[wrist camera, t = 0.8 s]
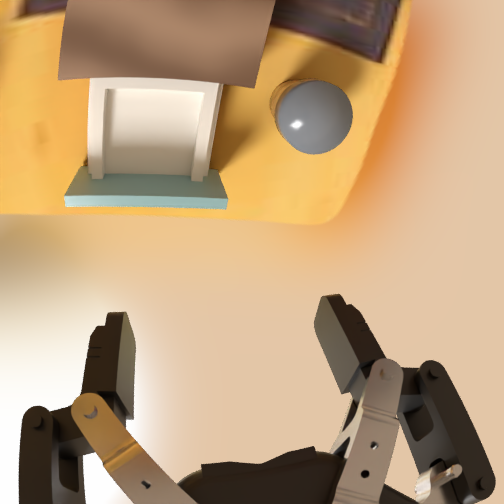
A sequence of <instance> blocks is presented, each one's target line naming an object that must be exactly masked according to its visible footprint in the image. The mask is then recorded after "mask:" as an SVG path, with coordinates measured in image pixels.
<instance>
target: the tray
mask: <svg viewBox="0 0 504 504" xmlns="http://www.w3.org/2000/svg"><path fill="white" fill-rule="evenodd" d="M223 85H224V84H220V83H212V82H202V81H192V80H179V79H164V78H134V77H113V78H90V89H89V106H88V166H81V167H80V168H79V170H78V172H77V174H76V175H75V177H74V179H73V181H72V183H71V184H70V186H69V188H68V190H67V192H66V194H65V196H64V198H65V206H66V207H86V206H111V207H174V208H206V209H226V208H227V202H228V197H227V194H226V192H225V189H224V186H223V184H222V181H221V178H220V176H219V173H218V170H215V169H209V164H210V158H211V151H212V145H213V140H214V134H215V128H216V122H217V117H218V111H219V106H220V101H221V96H222V90H223Z"/></svg>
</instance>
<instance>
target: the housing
mask: <svg viewBox="0 0 504 504" xmlns="http://www.w3.org/2000/svg"><path fill="white" fill-rule="evenodd" d="M275 1H276V0H68V3H67V8H66V14H65V20H64V26H63V33H62V41H61V49H60V59H59V72H58V80H69V79H84V78H113V77H134V78H164V79H179V80H192V81H202V82H212V83H220V84H228V85H235V86H242V87H248V88H255V84H256V79H257V75H258V71H259V66H260V62H261V58H262V54H263V49H264V45H265V41H266V37H267V33H268V29H269V25H270V20H271V16H272V12H273V8H274V5H275Z"/></svg>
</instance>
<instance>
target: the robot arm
mask: <svg viewBox="0 0 504 504" xmlns="http://www.w3.org/2000/svg"><path fill="white" fill-rule="evenodd" d="M314 328H315V332H316V335H317V337H318V340H319V342H320V344H321V347H322V349H323V351H324V354H325V356H326V358H327V361H328V363H329V365H330V368H331V370H332V372H333V375H334V377H335V380H336V382H337V385H338V387H339V389H340V392H341V394H344V393H348V392H350V393H351V395H352V399H351V401H350V403H349V406H348V409H347V413H346V415H345V418H344V421H343V424H342V427H341V430H340V432H339V435H338V437H337V439H336V440H335V442H334V444H333V446H332V448H331V450H330V453H326V452H319V451H315V448H314V446H312V447H308V448H304V449H299V450H295V451H291V452H287V453H285V454H283V455H280V456H278V457H276V458H274V459H271V460H269V461H267V462H264V463H262V464H251V463H239V462H221V463H212V464H201V468H202V469H201V470H198V471H196V472H193V473H191V474H189V475H188V476H186V477H184V478H183V479H182V480H181V481H179V483H177V484H176V483H175V482H174V481H173V480H172V479H171V478H170V477H169V476H168V475H167V474H166V473H165V472H164V471H163V470H162V469H161V468H160V467H159V466H158V465H157V464H156V463H155V462H154V460H153V459H152V458H151V457H150V456H149V455H148V454H147V453H146V451H145V450H144V449H143V448H142V447H141V446H140V445H139V444H138V442H137V441H136V440H135V439H134V438H133V437H132V436H131V434H130V433H129V432H128V431H127V430H126V419H129V420H131V419H132V420H133V419H134V374H135V353H136V345H135V338H134V334H133V331H132V328H131V325H130V322H129V318H128V315H127V313H126V312H110V313H108V314H107V317H106V323H105V326H97V327H96V328H95V330H94V332H93V333H92V334H91V336H90V341H89V346H88V347H89V349H88V352H87V358H86V364H85V370H84V377H83V384H82V390H81V394H80V396H79V397H77V398H76V399H75V400H74V402H73V404H72V405H70V406H68V407H65V408H61V409H58V410H54V411H50V412H49V410H47V409H46V408H45V407H42V406H33V407H31V408H29V409H28V410H27V411H26V412H25V414H24V416H23V419H22V427H21V438H20V452H19V504H86V501H85V490H84V475H83V455H86V454H90V453H94V452H96V453H97V455H98V456H99V457H100V459H101V460H102V462H103V466H104V468H105V469H106V470H107V472H108V473H109V475H110V476H111V477H112V478H113V480H114V481H115V482H116V483H117V485H118V486H119V487H120V488H121V489H122V490H123V492H124V493H125V494H126V495H127V496H128V497H129V499H130V500H131V501H132V502H133V503H134V504H474V503H477V502H479V501H482V500H484V499H486V498H488V497H489V496H490V495H491V494H492V492H493V490H494V488H495V481H496V480H495V476H494V473H493V470H492V468H491V465H490V463H489V460H488V458H487V455H486V453H485V450H484V448H483V446H482V443H481V441H480V439H479V437H478V435H477V432H476V430H475V428H474V425H473V423H472V421H471V419H470V417H469V415H468V413H467V411H466V409H465V407H464V405H463V402H462V400H461V398H460V397H459V395H458V393H457V391H456V389H455V387H454V385H453V383H452V381H451V379H450V377H449V375H448V374H447V372H446V370H445V368H444V367H443V366H442V365H441V364H440V363H439V362H436V361H433V360H429V361H425V362H424V363H423V364H422V365H421V366H420V368H404V367H400V365H399V364H398V363H397V362H395V361H393V360H391V359H387V358H386V357H385V355H384V353H383V351H382V350H381V348H380V346H379V344H378V342H377V341H376V339H375V337H374V335H373V333H372V332H371V330H370V328H369V327H368V325H367V323H365V319H364V318H363V316H362V314H361V313H360V311H359V310H357V309H356V308H355V307H354V306H353V305H352V304H349V305H346V303H345V301H344V299H343V298H342V296H341V295H340V294H334V295H327V296H322V297H321V300H320V303H319V306H318V310H317V313H316V317H315V321H314ZM396 414H397V417H398V418H396ZM399 424H401V426H402V429H403V432H404V434H405V437H406V440H407V442H408V445H409V448H410V450H411V453H412V456H413V458H414V461H415V464H416V466H417V469H418V472H419V475H420V476H419V477H418V479H417V482H416V486H415V493H416V494H417V497H416V500H414V499H412V498H410V497H408V496H406V495H404V494H402V493H400V492H398V491H397V490H395V489H393V488H391V487H389V486H388V485H386V484H384V482H385V478H386V475H387V472H388V468H389V465H390V461H391V458H392V454H393V450H394V446H395V442H396V438H397V433H398V429H399Z"/></svg>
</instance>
